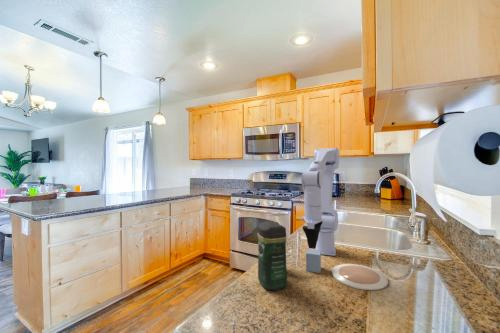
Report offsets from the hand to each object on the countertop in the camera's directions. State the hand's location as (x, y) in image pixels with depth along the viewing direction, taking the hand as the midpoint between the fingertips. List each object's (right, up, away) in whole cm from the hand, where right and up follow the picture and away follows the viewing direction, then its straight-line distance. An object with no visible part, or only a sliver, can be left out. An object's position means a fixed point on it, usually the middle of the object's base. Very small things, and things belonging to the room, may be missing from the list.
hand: (313, 244), depth 78 cm
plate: (+13, -8, -6) cm, 16 cm away
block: (0, -9, 0) cm, 9 cm away
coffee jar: (-15, -9, -9) cm, 20 cm away
